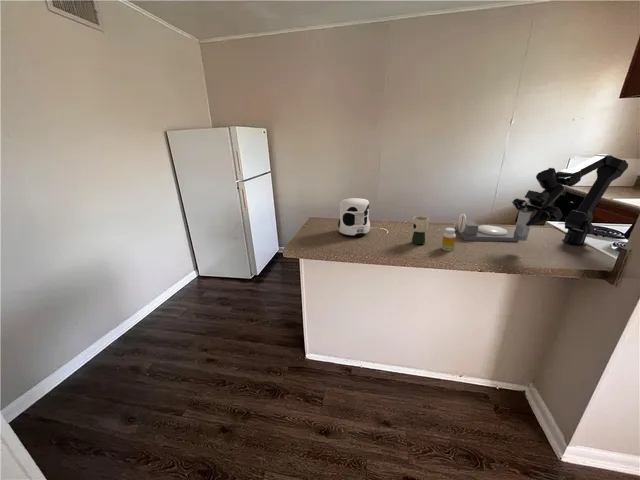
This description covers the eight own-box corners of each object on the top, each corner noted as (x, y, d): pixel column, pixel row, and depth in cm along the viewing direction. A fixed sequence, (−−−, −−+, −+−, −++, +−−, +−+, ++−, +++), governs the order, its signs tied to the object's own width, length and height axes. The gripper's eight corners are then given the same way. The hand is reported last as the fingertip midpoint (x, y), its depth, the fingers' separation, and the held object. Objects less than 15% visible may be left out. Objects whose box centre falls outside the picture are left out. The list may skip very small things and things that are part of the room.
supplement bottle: (454, 251, 123) (458, 231, 120) (442, 250, 124) (445, 230, 121) (452, 246, 128) (455, 227, 125) (439, 246, 129) (442, 227, 126)
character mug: (409, 238, 139) (411, 214, 134) (424, 239, 138) (427, 214, 133) (411, 246, 129) (414, 221, 124) (427, 247, 128) (431, 221, 123)
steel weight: (523, 236, 121) (531, 208, 116) (529, 241, 116) (537, 211, 111) (511, 236, 122) (517, 208, 117) (515, 240, 117) (523, 211, 112)
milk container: (348, 226, 161) (348, 196, 154) (375, 231, 151) (376, 199, 144) (332, 235, 148) (331, 202, 141) (360, 241, 138) (361, 206, 131)
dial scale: (501, 229, 148) (505, 210, 144) (518, 241, 132) (523, 220, 128) (453, 228, 152) (456, 209, 148) (464, 240, 136) (468, 219, 132)
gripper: (520, 180, 119) (494, 206, 121) (565, 187, 103) (535, 218, 104) (530, 196, 124) (505, 221, 126) (575, 205, 107) (545, 235, 109)
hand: (521, 223), depth 116 cm, fingers closed on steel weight, 5 cm apart
